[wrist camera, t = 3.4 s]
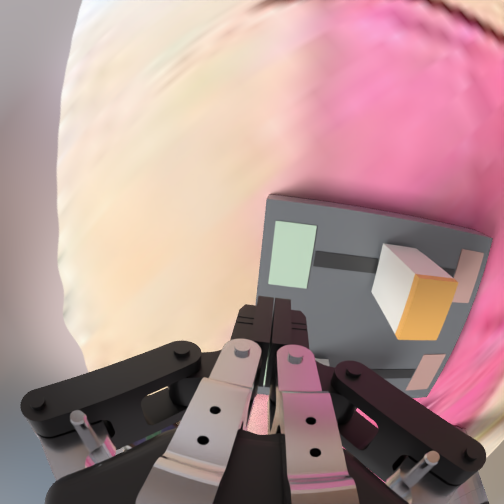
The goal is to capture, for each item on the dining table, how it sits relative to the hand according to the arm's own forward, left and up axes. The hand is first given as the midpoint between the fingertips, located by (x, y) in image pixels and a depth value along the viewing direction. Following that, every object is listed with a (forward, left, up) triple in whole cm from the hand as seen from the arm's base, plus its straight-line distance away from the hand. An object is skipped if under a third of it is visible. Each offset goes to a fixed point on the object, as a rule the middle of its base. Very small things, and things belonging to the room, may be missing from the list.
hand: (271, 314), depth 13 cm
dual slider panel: (-9, +5, -12) cm, 16 cm away
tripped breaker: (-9, 0, -8) cm, 12 cm away
